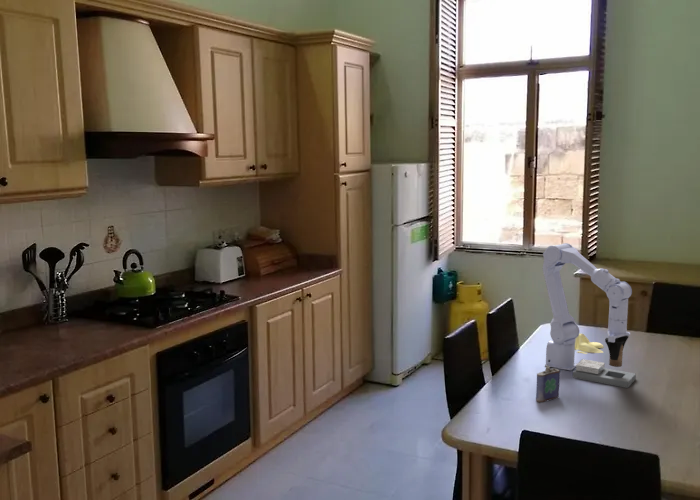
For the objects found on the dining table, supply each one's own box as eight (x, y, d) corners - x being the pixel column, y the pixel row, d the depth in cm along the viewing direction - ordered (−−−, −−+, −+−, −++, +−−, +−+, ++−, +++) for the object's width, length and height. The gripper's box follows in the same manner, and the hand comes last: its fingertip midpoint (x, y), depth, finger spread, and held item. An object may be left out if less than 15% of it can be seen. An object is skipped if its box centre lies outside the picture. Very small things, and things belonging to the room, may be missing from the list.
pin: (607, 365, 225) (608, 345, 224) (610, 362, 229) (611, 342, 228) (620, 367, 223) (621, 347, 222) (623, 364, 226) (624, 344, 225)
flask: (539, 403, 208) (541, 370, 206) (532, 400, 210) (534, 367, 208) (560, 397, 212) (562, 364, 211) (553, 394, 215) (555, 362, 213)
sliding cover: (575, 370, 230) (576, 364, 230) (582, 364, 236) (582, 359, 236) (598, 374, 226) (598, 368, 226) (604, 368, 232) (604, 362, 232)
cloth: (546, 350, 262) (547, 335, 261) (561, 339, 277) (562, 324, 276) (606, 360, 249) (606, 344, 248) (618, 348, 264) (619, 332, 263)
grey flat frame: (572, 377, 230) (573, 371, 230) (581, 369, 238) (582, 364, 238) (628, 387, 220) (628, 382, 219) (635, 379, 228) (635, 373, 227)
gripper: (625, 325, 215) (622, 365, 217) (635, 315, 227) (633, 354, 229) (602, 322, 219) (600, 362, 222) (614, 312, 231) (612, 351, 233)
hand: (615, 357), depth 226 cm, fingers closed on pin, 4 cm apart
